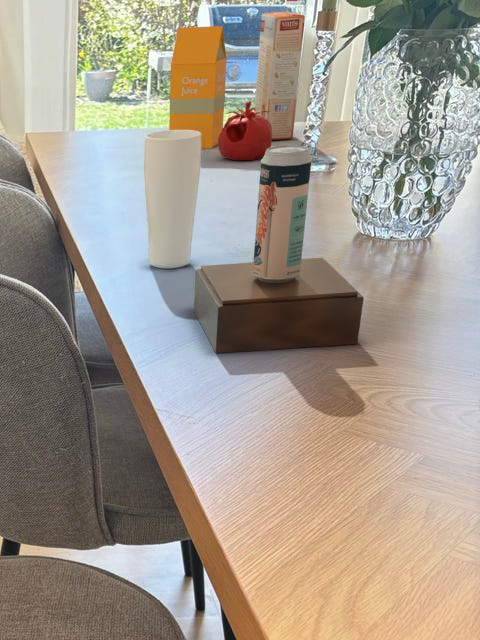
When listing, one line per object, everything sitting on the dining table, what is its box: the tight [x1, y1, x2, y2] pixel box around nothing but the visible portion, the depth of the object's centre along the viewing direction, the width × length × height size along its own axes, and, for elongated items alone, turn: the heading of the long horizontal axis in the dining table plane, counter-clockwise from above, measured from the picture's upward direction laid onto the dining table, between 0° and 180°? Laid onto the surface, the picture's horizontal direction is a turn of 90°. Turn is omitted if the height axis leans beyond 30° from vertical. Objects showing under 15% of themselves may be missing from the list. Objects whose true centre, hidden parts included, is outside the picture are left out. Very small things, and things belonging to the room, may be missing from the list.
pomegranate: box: [217, 100, 273, 161], centre depth 179 cm, size 10×10×9 cm
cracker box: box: [253, 11, 306, 141], centre depth 194 cm, size 14×6×21 cm, turn 178°
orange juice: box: [168, 25, 228, 149], centre depth 191 cm, size 8×9×20 cm
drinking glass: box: [143, 129, 202, 270], centre depth 122 cm, size 7×7×15 cm
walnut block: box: [193, 257, 364, 354], centre depth 103 cm, size 14×14×5 cm
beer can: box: [252, 144, 313, 283], centre depth 98 cm, size 5×5×12 cm
